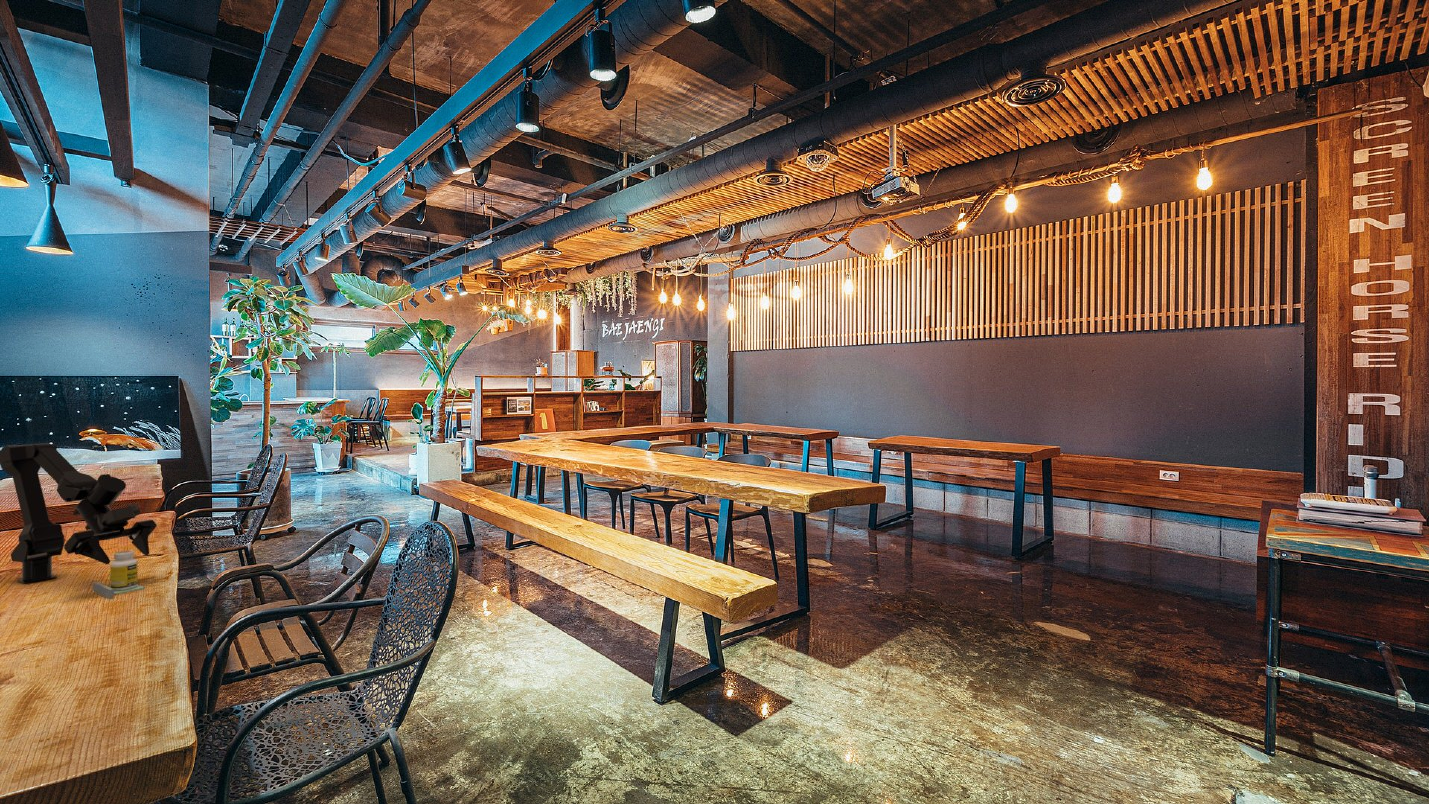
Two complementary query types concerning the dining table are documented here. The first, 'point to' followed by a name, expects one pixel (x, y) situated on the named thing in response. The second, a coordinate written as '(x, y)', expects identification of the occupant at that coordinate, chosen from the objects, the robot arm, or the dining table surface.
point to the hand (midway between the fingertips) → (128, 558)
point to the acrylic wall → (103, 590)
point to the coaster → (129, 590)
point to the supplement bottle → (123, 571)
